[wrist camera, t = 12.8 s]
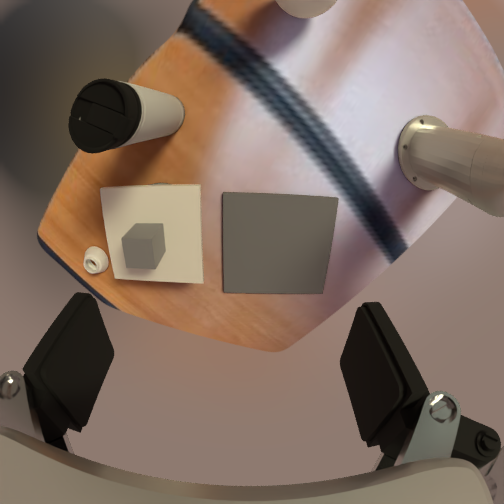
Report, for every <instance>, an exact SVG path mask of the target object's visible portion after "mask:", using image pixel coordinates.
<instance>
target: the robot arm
mask: <svg viewBox="0 0 504 504" xmlns="http://www.w3.org/2000/svg"><path fill="white" fill-rule="evenodd" d="M403 146H404V147H403ZM398 157H399V163H400V166H401V169H402V171H403V173H404V175H405V176H406V178H407V179H408V180H409V181H410V182H411V183H412V184H413V185H415V186H416V187H418V188H421V189H423V190H435V189H438V188H441V189H443V190H445V191H447V192H449V193H451V194H453V195H455V196H457V197H459V198H461V199H463V200H465V201H467V202H468V203H470V204H472V205H474V206H476V207H477V208H479V209H481V210H483V211H485V212H487V213H488V214H490V215H493V216H496V217H504V139H500V138H496V137H491V136H487V135H483V134H478V133H474V132H469V131H464V130H458V129H453V128H449V127H448V126H447V125H446V124H445V123H444V122H443V121H442V120H440V119H438V118H436V117H433V116H427V115H423V116H418V117H416V118H414V119H412V120H411V121H410V122H409V123H408V124H407V125H406V126H405V127H404V129H403V131H402V133H401V136H400V139H399V145H398ZM113 358H114V349H113V346H112V344H111V341H110V339H109V336H108V333H107V331H106V328H105V325H104V322H103V319H102V317H101V314H100V311H99V308H98V304H97V301H96V299H95V298H93V297H92V295H91V294H89V293H79V292H77V293H76V294H74V296H73V297H72V298H71V299H70V301H69V302H68V303H67V305H66V306H65V307H64V309H63V310H62V311H61V313H60V314H59V315H58V317H57V318H56V320H55V321H54V322H53V323H52V325H51V326H50V328H49V329H48V331H47V332H46V333H45V335H44V336H43V338H42V339H41V341H40V342H39V344H38V346H37V347H36V348H35V350H34V351H33V353H32V354H31V356H30V357H29V359H28V361H27V362H26V364H25V365H24V367H23V371H24V372H25V374H24V376H22V375H21V374H20V373H19V372H17V371H8V372H6V373H4V374H3V375H1V376H0V504H504V446H503V447H502V448H501V442H500V438H499V436H498V434H497V432H496V431H494V430H493V429H492V428H490V427H488V426H485V425H483V424H480V423H478V422H476V421H473V420H471V419H469V418H467V417H464V416H462V415H461V408H460V405H459V403H458V401H457V400H456V398H455V397H454V396H452V395H451V394H449V393H447V392H443V391H436V392H433V393H431V394H430V393H429V391H428V388H427V386H426V384H425V382H424V380H423V379H422V376H421V374H420V372H419V370H418V369H417V367H416V365H415V363H414V361H413V359H412V357H411V355H410V354H409V352H408V350H407V348H406V346H405V345H404V343H403V341H402V339H401V337H400V336H399V334H398V332H397V331H396V329H395V327H394V325H393V324H392V322H391V320H390V318H389V317H388V315H387V313H386V312H385V310H384V308H383V307H382V305H381V304H380V303H379V302H365V303H363V304H362V306H361V307H358V309H357V311H356V314H355V317H354V321H353V324H352V327H351V330H350V333H349V336H348V339H347V341H346V344H345V347H344V350H343V353H342V355H341V358H340V367H341V370H342V373H343V377H344V380H345V383H346V387H347V390H348V393H349V397H350V400H351V403H352V407H353V411H354V414H355V417H356V421H357V425H358V428H359V432H360V435H361V439H362V440H363V441H366V443H367V446H368V447H372V446H376V445H380V449H381V452H382V453H381V454H380V456H379V458H378V460H377V462H376V464H375V465H374V467H373V469H372V471H371V472H369V473H364V474H360V475H355V476H350V477H344V478H338V479H333V480H326V481H319V482H311V483H303V484H292V485H277V486H223V485H208V484H198V483H189V482H181V481H174V480H168V479H162V478H156V477H151V476H146V475H142V474H137V473H133V472H129V471H125V470H121V469H117V468H114V467H110V466H107V465H104V464H100V463H97V462H94V461H91V460H88V459H85V458H82V457H80V456H77V455H75V454H74V452H73V449H72V447H71V444H70V442H69V439H68V436H67V433H66V431H67V429H68V428H69V429H72V430H75V431H77V432H81V430H82V427H84V426H86V424H87V422H88V420H89V417H90V414H91V412H92V409H93V406H94V404H95V401H96V399H97V396H98V393H99V391H100V389H101V386H102V384H103V381H104V379H105V376H106V374H107V372H108V370H109V367H110V365H111V363H112V360H113Z"/></svg>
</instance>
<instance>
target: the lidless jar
mask: <svg viewBox="0 0 504 504" xmlns="http://www.w3.org/2000/svg"><path fill="white" fill-rule="evenodd" d="M90 259H91V260H93V261H94V262H95V263H96V265H97V266H95V265H94V264H92V262H91V261H90ZM108 264H109V261H108V257H107V255H106V253H105V252H104V251H103V250H102V249H101V248H98V247H96V246H92V247H90V248H88V249H87V250H86V252H85V256H84V267H85V269H86V270H87V271H88V272H89V273H92V274H94V273H100V272H103V271H105V270H106V269H107V267H108Z"/></svg>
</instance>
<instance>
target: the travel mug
mask: <svg viewBox="0 0 504 504" xmlns="http://www.w3.org/2000/svg"><path fill="white" fill-rule="evenodd" d="M77 96H78V97H77V98H76V99H75V102H74V104H73V106H72V109H71V116H70V117H69V132H70V135H71V138H72V140H73V142H74V143H75V145H76V146H77V147H78V148H79V149H81V150H82V151H84V152H87V153H100V152H103V151H106V150H110V149H116V148H119V147H123V146H127V145H130V144H134V143H138V142H142V141H146V140H151V139H155V138H159V137H164V136H168V135H171V134H173V133H175V132H176V131H177V130H178V129H179V128H180V127H181V125H182V124H183V121H184V117H185V109H184V106H183V104H182V102H181V101H180V100H179V99H178V98H177V97H175V96H173V95H169V94H166V93H163V92H159V91H156V90H153V89H149V88H145V87H142V86H138V85H134V84H130V83H126V82H122V81H114V80H110V79H98V80H94V81H92V82H90V83H88V84H87V85H86V86H85V87H83V89H82V90H81V91H80V93H79V94H78V95H77Z"/></svg>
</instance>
